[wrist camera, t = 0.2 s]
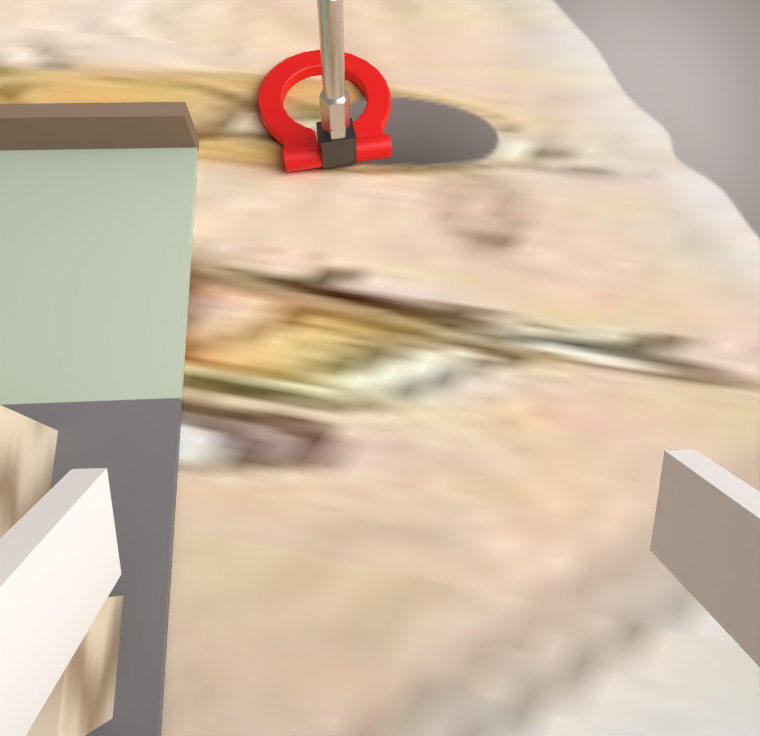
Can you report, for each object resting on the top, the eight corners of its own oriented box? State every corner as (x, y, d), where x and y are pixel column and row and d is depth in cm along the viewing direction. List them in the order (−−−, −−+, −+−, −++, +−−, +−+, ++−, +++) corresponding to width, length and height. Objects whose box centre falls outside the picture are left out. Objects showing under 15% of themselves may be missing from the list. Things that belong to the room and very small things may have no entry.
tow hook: (252, 72, 38) (272, 181, 35) (204, -168, 26) (227, -36, 23) (375, 57, 39) (405, 162, 36) (382, -181, 27) (429, -57, 24)
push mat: (155, 806, 24) (129, 839, 21) (-241, 837, 23) (-324, 874, 20) (199, 139, 35) (185, 102, 33) (-67, 142, 35) (-105, 105, 32)
